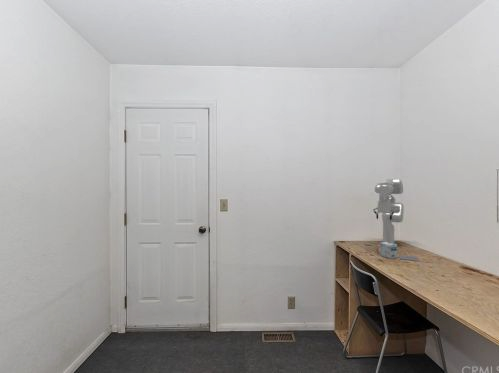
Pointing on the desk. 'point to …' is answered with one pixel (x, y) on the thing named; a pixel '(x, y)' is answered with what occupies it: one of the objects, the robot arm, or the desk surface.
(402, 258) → the blue-gray flat panel
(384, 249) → the light bulb box
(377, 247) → the reddish brown cube
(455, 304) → the desk surface
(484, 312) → the desk surface
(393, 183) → the robot arm
